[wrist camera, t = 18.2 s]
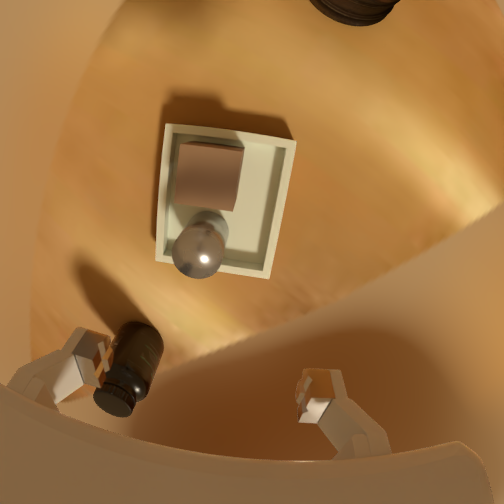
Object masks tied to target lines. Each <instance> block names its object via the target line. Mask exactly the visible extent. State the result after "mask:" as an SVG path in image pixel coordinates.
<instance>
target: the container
mask: <svg viewBox="0 0 504 504" xmlns="http://www.w3.org/2000/svg"><path fill="white" fill-rule="evenodd" d="M310 1H311V2H312V3H313V5H314V6H315V7H316V8H317V9H318V10H319V11H320V12H322V13H323V14H324V15H326V16H327V17H329V18H331V19H333V20H335V21H337V22H340V23H343V24H347V25H351V26H369V25H373V24H376V23H378V22H380V21H381V20H383V19H384V18H385V17H386V16H387V14H389V13H390V12H391V10H392V9H393V7H394V5H395V4H396V3H398V2H399V1H400V0H310Z"/></svg>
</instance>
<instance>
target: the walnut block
mask: <svg viewBox="0 0 504 504" xmlns="http://www.w3.org/2000/svg"><path fill="white" fill-rule="evenodd" d="M244 150H245V147H238V146H231V145H224V144H216V143H208V142H199V141H190V142H186V143H182V144H180V149H179V158H178V167H177V176H176V186H175V197H174V203H176V204H183V205H191V206H198V207H204V208H211V209H218V210H225V211H231V212H233V209H234V206H235V203H236V199H237V195H238V188H239V182H240V175H241V169H242V163H243V156H244Z"/></svg>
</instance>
